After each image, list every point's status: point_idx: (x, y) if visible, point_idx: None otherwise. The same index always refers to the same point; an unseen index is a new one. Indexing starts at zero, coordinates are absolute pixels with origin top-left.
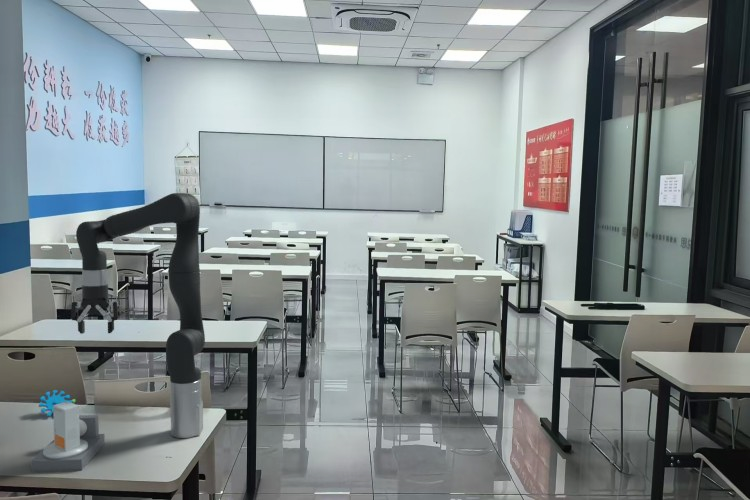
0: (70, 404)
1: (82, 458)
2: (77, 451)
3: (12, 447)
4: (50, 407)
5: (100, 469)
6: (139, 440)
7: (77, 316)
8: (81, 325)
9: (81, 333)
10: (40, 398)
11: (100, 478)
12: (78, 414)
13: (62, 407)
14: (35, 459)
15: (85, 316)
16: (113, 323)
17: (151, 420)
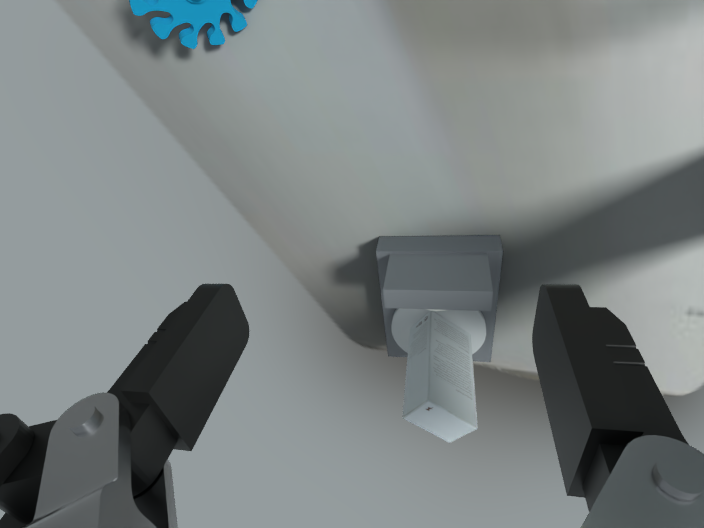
0: (450, 420)
1: (490, 358)
2: (474, 352)
3: (278, 243)
4: (198, 18)
5: (527, 345)
6: (604, 220)
7: (36, 494)
8: (204, 412)
9: (240, 330)
10: (134, 13)
11: (536, 372)
12: (475, 406)
13: (436, 432)
14: (393, 351)
15: (128, 489)
16: (658, 422)
17: (643, 37)
